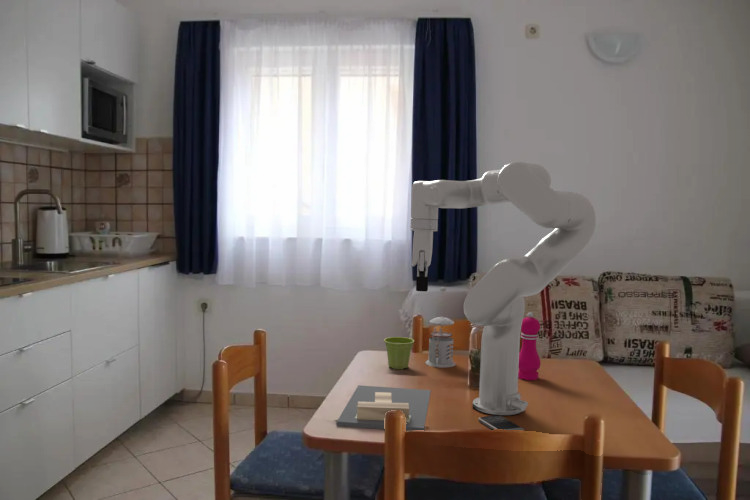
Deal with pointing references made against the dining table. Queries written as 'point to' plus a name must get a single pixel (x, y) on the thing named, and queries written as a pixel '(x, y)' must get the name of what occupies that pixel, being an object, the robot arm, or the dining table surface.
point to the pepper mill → (529, 349)
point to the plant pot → (398, 351)
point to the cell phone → (499, 423)
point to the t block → (380, 407)
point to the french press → (440, 343)
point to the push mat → (398, 395)
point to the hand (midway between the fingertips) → (421, 290)
